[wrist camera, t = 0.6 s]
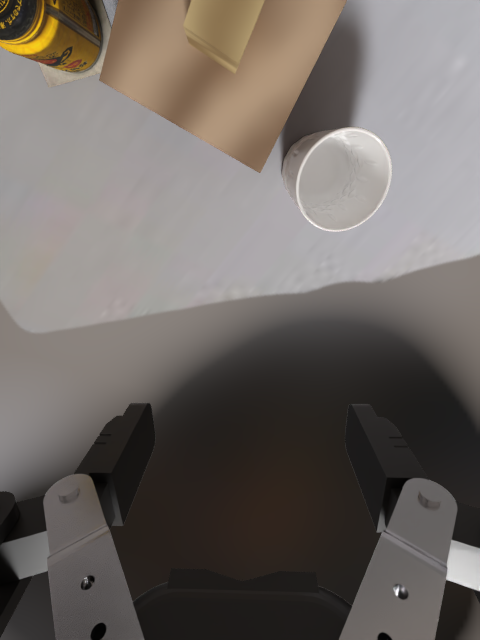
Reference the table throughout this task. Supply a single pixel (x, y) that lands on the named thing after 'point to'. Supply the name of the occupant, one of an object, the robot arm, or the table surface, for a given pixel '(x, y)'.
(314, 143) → the white cup
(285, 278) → the table surface
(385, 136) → the table surface
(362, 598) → the robot arm
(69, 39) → the condiment
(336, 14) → the lid
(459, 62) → the table surface
